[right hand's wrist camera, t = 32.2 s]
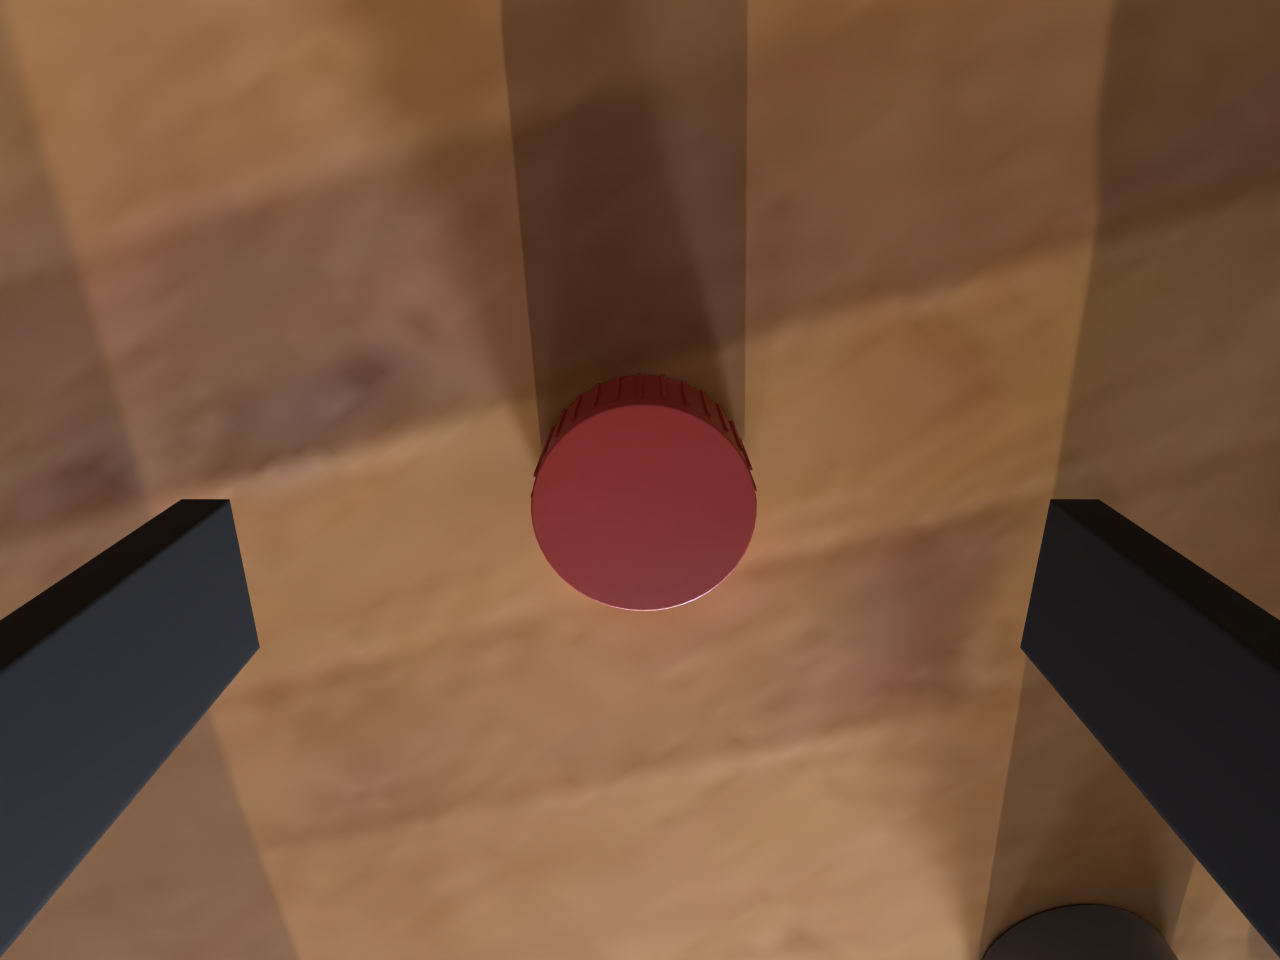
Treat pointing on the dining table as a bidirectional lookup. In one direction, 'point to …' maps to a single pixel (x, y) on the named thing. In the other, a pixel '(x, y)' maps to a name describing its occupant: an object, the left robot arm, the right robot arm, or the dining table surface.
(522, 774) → the dining table surface
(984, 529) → the dining table surface
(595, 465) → the cap
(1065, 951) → the bottle
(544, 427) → the dining table surface
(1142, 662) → the right robot arm
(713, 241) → the dining table surface
